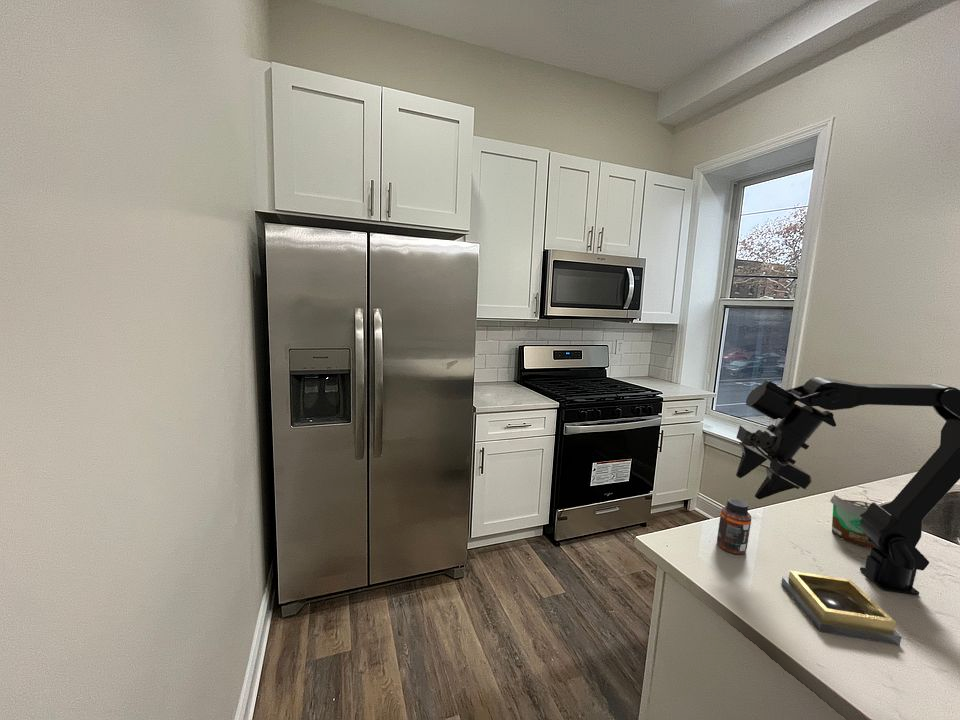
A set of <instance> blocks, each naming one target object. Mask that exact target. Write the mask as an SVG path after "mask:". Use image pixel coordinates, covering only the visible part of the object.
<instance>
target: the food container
mask: <svg viewBox="0 0 960 720" xmlns="http://www.w3.org/2000/svg"><path fill="white" fill-rule="evenodd" d="M829 501H830V503H831V504H833V505H832V517H831V520H832V521H831V532H832V533H833V535H834V536H836V537H838V538H839V539H841V540H842V541H845V542H847V543H850V544H852V545H854V546H859V547H861V548H866V549H871V548H875V546H874V545H873V544H871V543H870V542H869V541H868V539H867V536H866V535H865V534H864V533H863V531H862V530H861V527H860V521H861V519H862V517H861V516H860V515H861V514H863V513H864V512H866V511H867V509H868V507H869V506H870V504H871V503H870V502H866V501H863V500H849V499H842V498H841V497H839V496H837V495H836V494H835V493H834V494H833V496H831V499H830V500H829Z"/></svg>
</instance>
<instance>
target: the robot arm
mask: <svg viewBox="0 0 960 720" xmlns="http://www.w3.org/2000/svg"><path fill="white" fill-rule="evenodd" d="M797 401H798V403H801V404H803V406H800V405H798V404H797ZM745 405H746V406H747V407H749V408H751V409H753V410H754V411H756V412H759V413H760V414H762V415H763V416H766V417H767V418H769V419H771V420H778V419H780V421H779V422H778V423H777V425H774V424H770V425H768V426H767V427H766V428H762V427H758V426H753V425H746V424H739V427H738V430H737V433H736V439H737V440H738V441H739V442H738V444H739V446H740V448H741V451H742V454H741V458H740V461H739V465H738V467H737V470H736V474H735V475H736V477H737V478H739V479H742V478H743V477H746V476H747V475H748V474H749V473H752V471H753V470H755V469H756V468H758V467H759V466H761V465H762V464H764V463H765V462H766V461H767V460H769V461H770V464H769V467H767V466H766V467H765V470H766V477H765V478H764V480H763V482H762V483H761V484H760V486H759V488H758V489H757V491H756V493H755V494H754V497H755V498H756V499H757V500H762V499H765V498H768V497H770V496H773V495H776V494H779V493H782V492H785V491H788V490H792V489H797V490H799V489H804V490H806V489H807V488H808V487H809V485H811V484H812V483H813V482H812V477H811V475H810V474H808V472H807V471H805V470H803V469H802V468H801V467H800V466H797V465H795V464H796V462H797V461H796V460H795V459H794V457H795V456H796V455H797V454H798V452H799V451H800V450H801V449H804V450H808V448H810V445H809V444H807V443H806V442H807V441H809V439H810V438H811V437H812V436H813V434H814V433H815V432H816V431H817V430H818V428H819V427H820V426H821V425H822V423H826V424H827V425H829V426H830V427H833V428H835V427H836V426H837V423H836V421H835V418H834V413H833V412H831V411H837V410H838V411H839V410H848V409H853V408H857V407H860V406H867V405H870V406H871V405H872V406H875V405H876V406H878V405H879V406H904V407H905V406H906V407H907V406H908V407H910V406H911V407H932V408H933V410H934V412H935V413H936V415H938V416H939V417H940V418H941V419H942V420H943V421H945V423H944V424H943V427H942V428H941V430H940V442H939V446H938V448H937V449H936V450H935V452H933V453H932V455H931V456H930V457H929V458H928V459H927V460H926V461H925V463H924V464H923V465H922V466H921V467H920V469H918V471H917V472H916V473H915V474H914V475H913V476H912V478H911V479H910V480H909V481H908V483H906V485H905V486H904V487H903V488H902V490H900V491H899V493H898V494H896V496H895V497H894V499H892V501H891V502H889V503H885V504H882V505H879V504H878V503H876V502H871V503H870V506H869V507H868V509H867V511H866V512H864V513H863V514H861V515H860V516H861V517H862V519H861V521H860V527H861V530H862V531H863V533H864V534H865V535H866V536H867V539H868V541H869V542H870V543H871V544H873V545H874V546H875V548H870V552H869V555H867V557H866V561H865V565H864V567H862V566H861V567H860V568H859V570H860V572H862V573H863V574H864V575H865V576H866V577H868V578H869V579H870V580H871V581H872V582H873V583H874V584H875V585H876V586H877V587H878V588H881V590H883V591H889V592H895V593H902V594H909V595H915V596H916V595H917V596H919V595H920V591H918V589H916V588H914V582H915V579H916V574H917V571H924V570H926V569H927V567H928V566H929V564H930V561H929V560H928V558H927V557H926V556H925V555H924V554H922V553H921V551H920V550H919V549H918V548H917V545H918V543H919V542H920V540H921V538H922V529H923V520H924V519H925V518H926V517H927V516H928V515H929V513H930V512H931V511H932V510H933V509H934V508H935V507H936V506H937V505H938V504H939V503H940V501H941V500H943V498H944V497H945V496H946V495H947V494H948V493H949V491H951V489H953V487H954V486H955V485H956V484H957V483H958V482H959V480H960V389H959V388H957V387H953V386H950V385H945V384H940V383H931V384H903V383H902V384H900V383H899V384H896V383H895V384H893V383H891V384H890V383H888V384H887V383H857V382H850V381H844V380H839V379H833V378H827V377H818V376H817V377H811V378H809V380H807V381H806V382H805V383H804V384H802V385H798V386H795V387H793V388H792V387H791V388H789V389H784V388H782V387H780V386H778V384H776V383H774V382H772V381H770V380H769V379H766V380H764V382H763V383H761V384H759V385H758V386H756V387H755V388H754V389H752V390H751V391H750V392H749V393H748V396H747V398H746V401H745ZM816 407H818V408H820V409H824V411H821V410H819V409H817V408H816Z"/></svg>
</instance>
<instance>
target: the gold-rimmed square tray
mask: <svg viewBox="0 0 960 720" xmlns="http://www.w3.org/2000/svg"><path fill="white" fill-rule="evenodd" d="M780 584H781V586H784V587H783V588H784V590H785V591H786V592H787V593H788V594H789V596H790V597H791V598H792V599H793V601H795V603H796V604H797V606H799V608H800V610H801V611H802V612H803V613H804V614H805V615H806V617H807V618H808V619H809V620H810V622H811V623H812V624H813V625H814V626H815V628H816V629H817V630H818V631H819V632H820V633H826V634H832V635H837V636H844V637H848V638H856V639H863V640H868V641H874V642H879V643H885V644H893V645H896V646H901V641H902V638H903V637H902V636H901V635H900V633H899V632H898V631H896V630H895V628H896V624H897V622H896V621H895V620H894V619H893V618H892V617H891V616H890V615H889V614H887V612H886V611H884V610H883V609H882V608H881V607H880V606H879V605H878V604H877V603H876V602H875V600H873V599H872V598H871V597H869V595H868V594H866V593H865V592H864V591H863V590H862V589H861V588H860V587H859V585H857V584H856V583H855V582H854V581H852V580H851V579H849V578H841V577H836V576H835V577H834V576H828V575H821V574H815V573H807V572H801V571H795V570H794V571H793V570H789V574H788V577H787V576H785V577H784V576H782V578H781V583H780Z"/></svg>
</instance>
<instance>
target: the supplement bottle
mask: <svg viewBox="0 0 960 720" xmlns="http://www.w3.org/2000/svg"><path fill="white" fill-rule="evenodd" d="M748 511H749V505H748V503H747V502H746V501H743V500H741V499H738V498H728V499H727V503H726V505H725V506H724V507H723V506H722V508H721V510H720V516H719V523H718V530H717V536H716V543H717V544H716V545H717V546H718V547H720V548H721V549H722V550H723V551H726V552H728V553H731V554H735V555H744V554H745V553H746V552H747V549H748V545H749V537H750V536H749V535H750V531H751V525H752V515H751V514H750V512H748Z"/></svg>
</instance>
